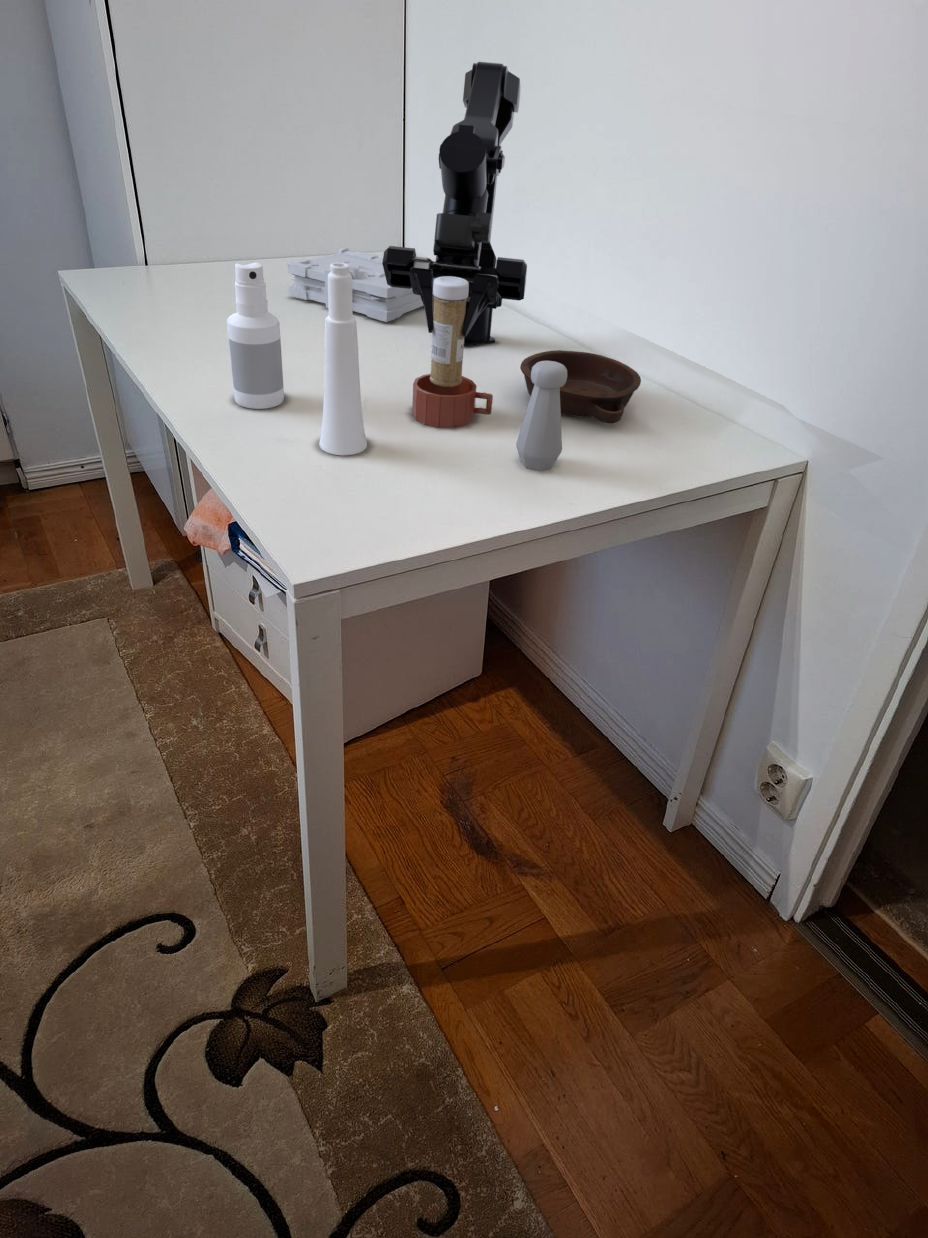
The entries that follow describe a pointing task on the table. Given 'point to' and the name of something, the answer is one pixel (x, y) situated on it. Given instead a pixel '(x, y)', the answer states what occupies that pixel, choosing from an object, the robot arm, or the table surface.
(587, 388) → the dish
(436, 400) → the cup
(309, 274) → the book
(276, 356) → the spray bottle
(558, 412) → the salt shaker
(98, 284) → the table surface
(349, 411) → the cosmetic bottle
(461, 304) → the sprinkles bottle
